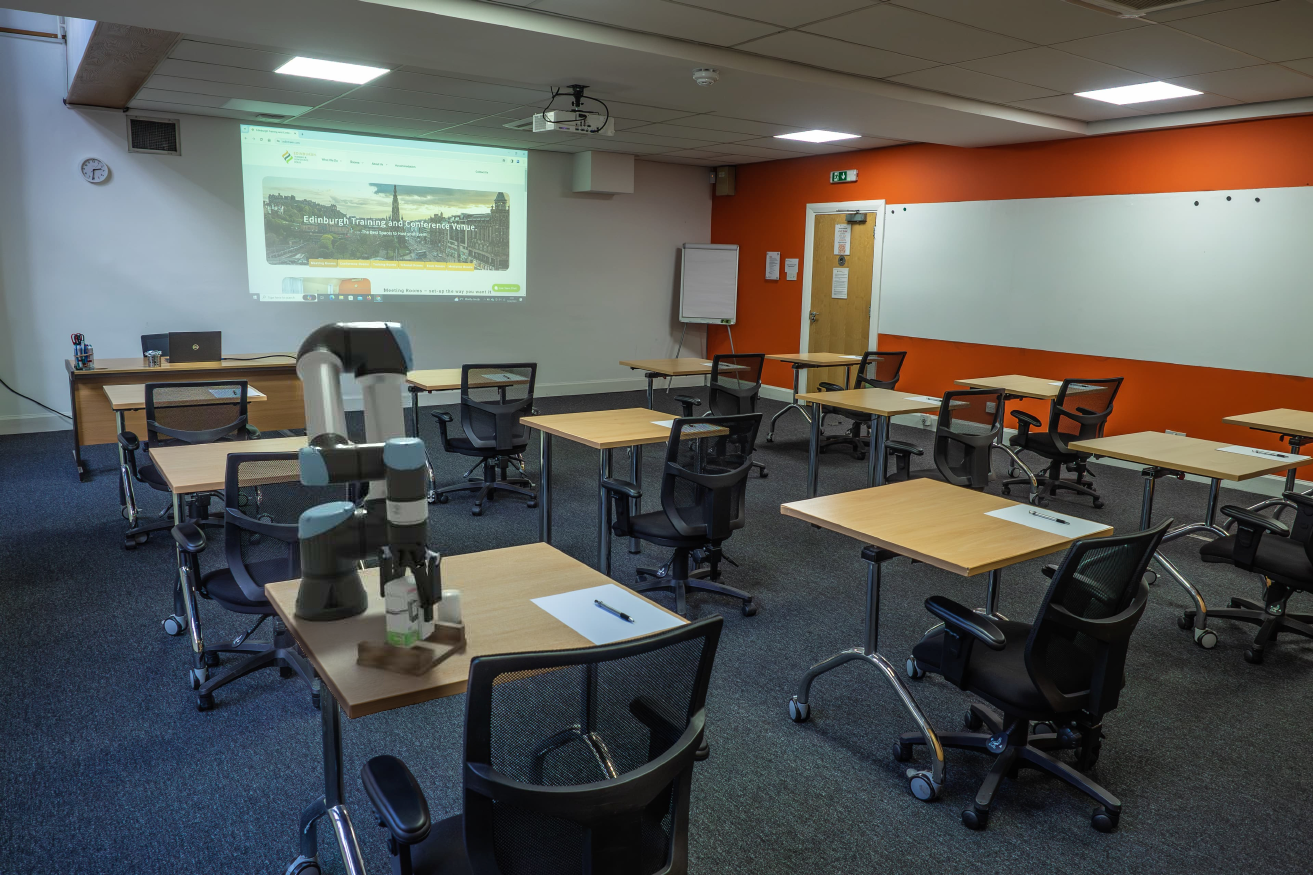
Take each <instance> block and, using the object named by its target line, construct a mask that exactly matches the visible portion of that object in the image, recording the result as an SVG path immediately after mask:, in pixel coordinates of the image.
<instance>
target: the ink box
mask: <svg viewBox="0 0 1313 875" xmlns="http://www.w3.org/2000/svg"><path fill="white" fill-rule="evenodd" d="M384 590H385V597H384V603H385V604H384V606H385V618H386V622H385V623H386V633H387V634H386V636H387V641H388V643H392V644H397V645H403V646H408V645H410V644H412V643H414V642H415V641H417V640H419V639H420V638H419V615H418V607H419V606H421V605H422V604H421V600H420V597H419V593H418V589H417V586H416V582H415V578H414V575H413V574H412V573H411V572H409V573H407V574H406V573H405V576H403V577H401V578H399V579H395V580H393V581H390V582H388V583H386V585H384ZM434 613H435V612H434V607H433V620H432V621H431V633H432V632H433V631H434V620H435V615H434Z"/></svg>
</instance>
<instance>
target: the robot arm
mask: <svg viewBox="0 0 1313 875" xmlns="http://www.w3.org/2000/svg"><path fill="white" fill-rule="evenodd" d="M412 350H413V349H412V346H411V341H410V336H409V333H408V332H407V330H406V328H405V326H404V325H403V324H402V323H399V322H389V321H388V322H385V321H373V322H372V321H370V322H369V321H368V322H367V321H366V322H362V321H359V322H340V321H339V322H331V323H330V322H329V323H326V324H324V325H322V326H320V327H318V328H317V329H315V330H313V331H312V332H311V333H310V334H309V335H308V336H307V337H306V338H305V339H304V341H303V342H302V343H301V345H300V347H299V349H298V351H297V355H296V360H295V369H296V374H297V376H298V378H299V380H301V381H302V392H303V402H304V414H305V425H306V438H307V446H303V447H301V448H299V450H298V467H299V478H300V479H299V480H300V483H301V484H302V485H303V486H304V485H305V486H323V487H324V486H325V487H326V486H330V485H331V486H332V485H341V484H351V483H352V484H353V483H365V482H368V483H369V493H368V494H367V495H366V496H365V498H364V499H363V507H360V508H359V507H358V508H356V505H355V503H353V502H351V501H334V502H328V503H323V504H319V505H316V506H313V507H312V508H309V509H307V510H306V511H304V512H303V513H302V514H301V515H300V516H299V519H298V534H297V537H298V538H299V550H300V567H301V580H300V584H299V587H298V591H297V597H296V599H295V603H294V606H295V607H294V608H295V614H296V617H299V618H301V619H303V620H308V621H318V622H319V621H322V622H323V621H334V620H340V619H344V618H348V617H349V618H350V617H351V616H355V615H357V614H359V613H361V612H363V611H364V610H365V609H367V607H368V605H369V600H368V598H369V597H368V595H369V594H368V592H367V590H366V589H365V587H364V585H363V582H362V581H363V580H362V579H361V576H360V574H359V567H358V566H359V565H358V562H360V561H368V560H377V559H378V562H379V564H378V565H379V566H378V567H379V592H380V594H379V596H380V597H381V598H382V599H385V590H384V585H386V583H388V582H390V581H393V580H395V579H399V578H401V577H403V576H405V575H406V572H407V568H409V569H410V573H412V574H413V575H414V578H415V582H416V586H417V589H418V593H419V597H420V600H421V604H422V605H421V606H419V607H418V615H419V638H420V639H421V640H423V639H425V638H426V637H428V636H430V635H431V621H432V620H433V608H434V605H436V604H437V603H438V602H440V601H442V591H443V590H442V575H441V574H442V572H441V563H442V560H443V554H442V553H441V552H437V553H436V552H433V551H432V550H430V546H429V544H428V539H429V520H428V519H427V518H428V517H429V512H428V511H429V508H428V507H429V506H428V494H427V493H428V492H427V466H426V465H427V464H426V461H427V454H426V448H425V442H424V441H423V440H422V439H420V438H415V437H406V430H405V417H404V416H405V415H404V405H403V404H404V403H403V394H402V393H403V392H402V387H403V384H405V382H406V381H407V380H408V373H410V372H412V371H413V369H414V360H413V351H412ZM343 374H345V375H347V374H348V375H349V374H352V375H354V377H353V378H354V383H356V384H357V385H358V386H359V387H360V388H361V390H362V401H363V414H364V426H365V427H364V428H365V438H366V439H365V441H366V443H355V444H354V443H350V444H349V437H348V430H347V422H346V416H345V407H344V406H345V405H344V400H343V399H344V398H343V394H342V393H343V392H342V384H341V378H342V376H343ZM426 559H427V560H426Z"/></svg>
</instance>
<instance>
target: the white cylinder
mask: <svg viewBox="0 0 1313 875" xmlns="http://www.w3.org/2000/svg"><path fill="white" fill-rule="evenodd" d="M436 607H437V608H436V609H437V621H443V622H449V623H455V624H459V623H460V622H461V621H462V618H463V617H462V591H460V590H458V589H444V590H442V601H440V602H438V603H437V606H436Z"/></svg>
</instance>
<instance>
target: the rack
mask: <svg viewBox="0 0 1313 875" xmlns="http://www.w3.org/2000/svg"><path fill="white" fill-rule="evenodd" d="M467 641H468V640H467V637H466V628H465V624H460V623H449V622H443V621H438V619H437V620H436V619H434V631H433V632H432V633H431V635H430V636H428V637H426V638H425V639H423V640H421V639H419V640H417V641H415V642H414V643H412V644H410V645H408V646H403V645H397V644H392V643H388V640H386V641H384V642H383V643H378V642H373V641H368V640H361V641H359V642H357V654H358V656H357V658H356V665H359V666H363V667H370V668H374V669H379V670H385V671H389V672H394V673H400V674H403V675H404V674H405V675H409V676H415V677H420V676H422V675H423V674H424V673H426V672H427V671H429V670H431V669H432V668H434V666H436V665H437V664H439V663H441V661H443V660H444V659H446V658H447V657H448V656H450V655H452V654H453V653H454V652H455V651H457V650H459V649H460V648H461V647H464V645H466V644H467V643H468V642H467Z"/></svg>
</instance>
